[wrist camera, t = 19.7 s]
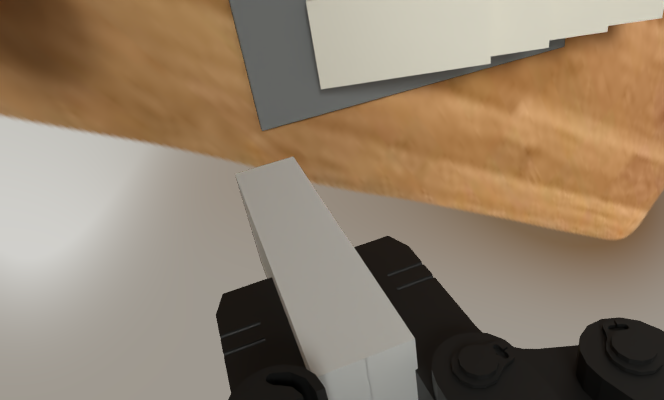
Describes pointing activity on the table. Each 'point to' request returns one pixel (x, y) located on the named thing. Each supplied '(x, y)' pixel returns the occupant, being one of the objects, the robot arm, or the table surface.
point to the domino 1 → (396, 38)
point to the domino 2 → (519, 25)
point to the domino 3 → (579, 17)
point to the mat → (312, 65)
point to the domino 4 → (635, 11)
